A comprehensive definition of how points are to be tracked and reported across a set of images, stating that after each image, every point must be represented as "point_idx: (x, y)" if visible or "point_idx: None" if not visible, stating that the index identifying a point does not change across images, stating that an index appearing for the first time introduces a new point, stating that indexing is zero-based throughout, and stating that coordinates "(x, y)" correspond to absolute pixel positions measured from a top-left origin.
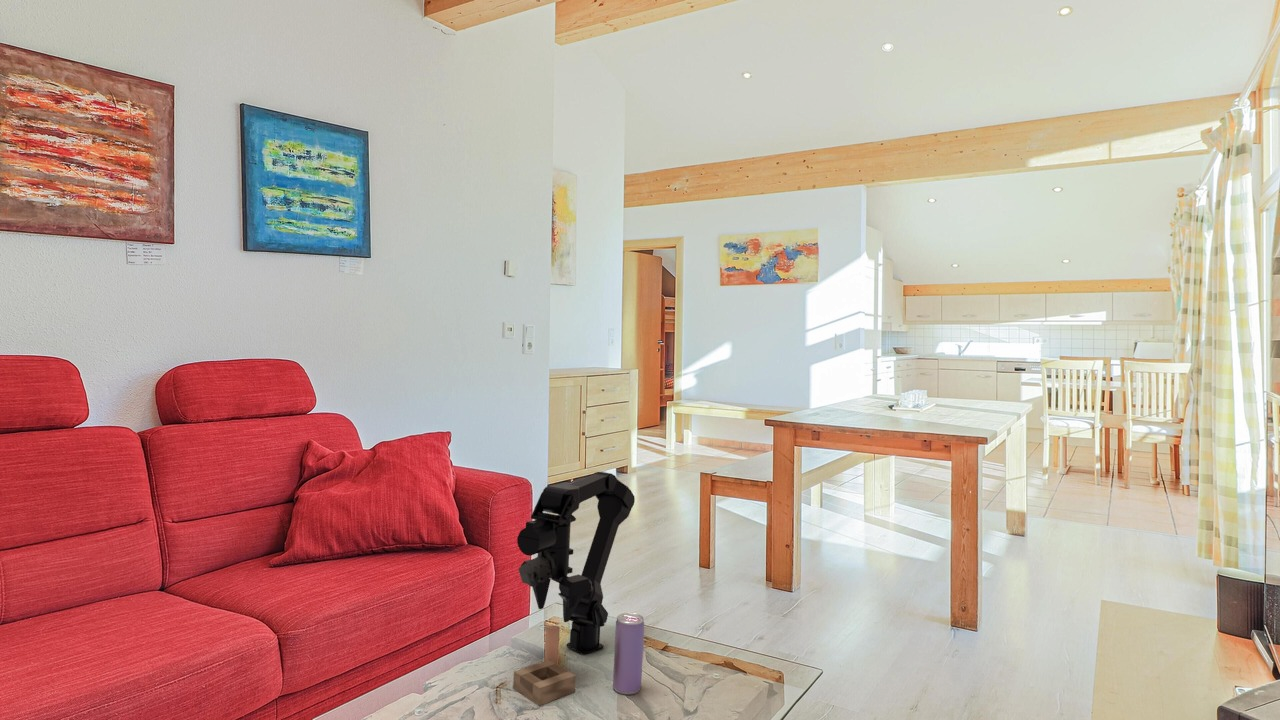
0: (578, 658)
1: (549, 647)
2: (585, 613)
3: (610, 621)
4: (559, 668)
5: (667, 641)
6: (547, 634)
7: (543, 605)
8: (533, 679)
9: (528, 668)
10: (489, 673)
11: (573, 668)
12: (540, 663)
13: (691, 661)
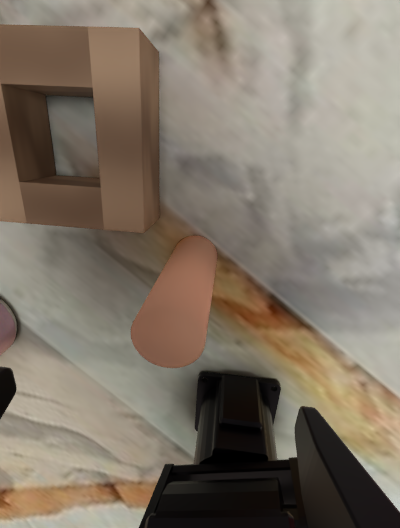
0: None
1: (167, 269)
2: (161, 509)
3: None
4: (62, 213)
5: (135, 511)
6: (169, 292)
7: (297, 450)
8: (24, 55)
9: (127, 111)
10: (326, 53)
11: None
12: (138, 185)
13: (35, 476)
